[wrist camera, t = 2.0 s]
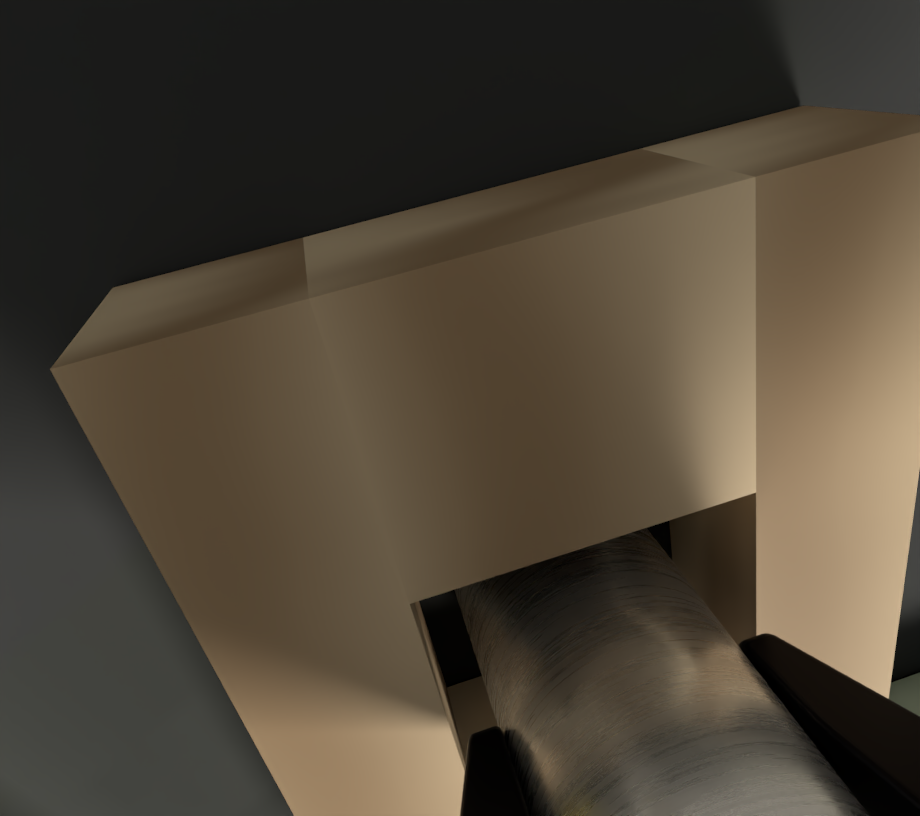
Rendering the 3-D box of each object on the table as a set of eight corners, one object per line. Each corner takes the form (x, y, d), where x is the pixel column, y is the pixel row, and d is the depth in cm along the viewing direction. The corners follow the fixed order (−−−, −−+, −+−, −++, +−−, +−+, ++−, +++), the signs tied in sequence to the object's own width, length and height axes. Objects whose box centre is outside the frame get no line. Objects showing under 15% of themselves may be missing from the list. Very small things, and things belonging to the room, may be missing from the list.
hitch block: (803, 106, 9) (966, 119, 7) (786, 705, 15) (872, 816, 13) (112, 287, 8) (50, 368, 6) (376, 851, 14) (394, 998, 12)
